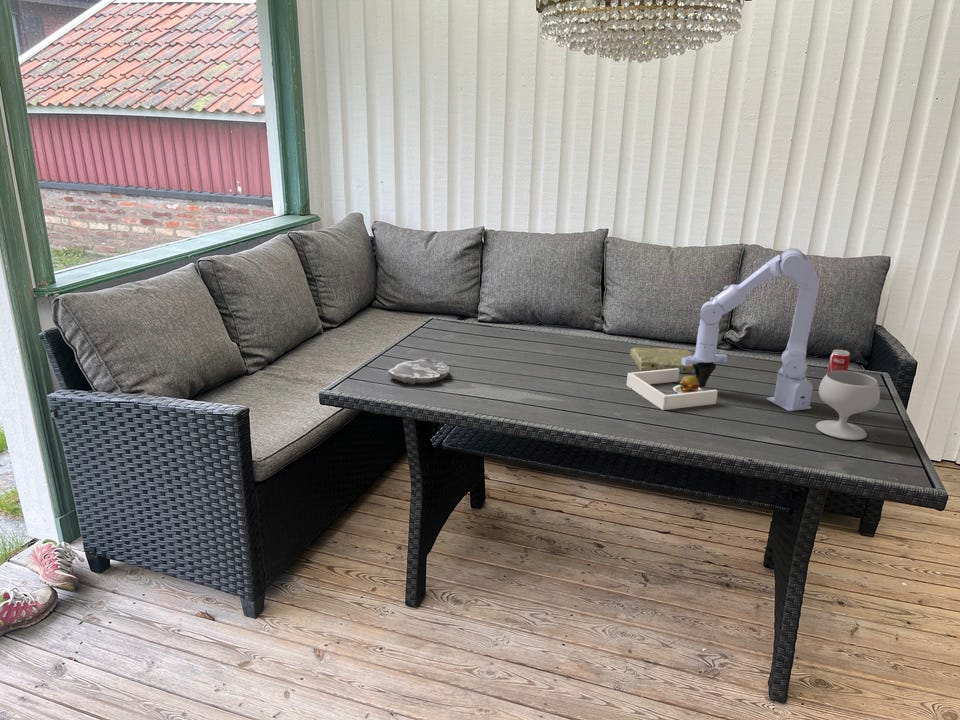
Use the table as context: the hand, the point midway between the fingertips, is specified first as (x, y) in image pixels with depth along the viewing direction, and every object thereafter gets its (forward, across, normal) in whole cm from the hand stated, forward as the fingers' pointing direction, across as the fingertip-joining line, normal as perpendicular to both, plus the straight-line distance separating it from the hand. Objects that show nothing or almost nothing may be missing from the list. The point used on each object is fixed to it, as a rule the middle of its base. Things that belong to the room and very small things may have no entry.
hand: (701, 385), depth 207 cm
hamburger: (+2, +4, 0) cm, 5 cm away
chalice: (+2, -19, +35) cm, 40 cm away
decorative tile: (+2, -4, -25) cm, 25 cm away
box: (+2, +10, 0) cm, 10 cm away
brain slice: (+2, +77, -33) cm, 84 cm away
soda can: (+2, -42, +9) cm, 43 cm away
